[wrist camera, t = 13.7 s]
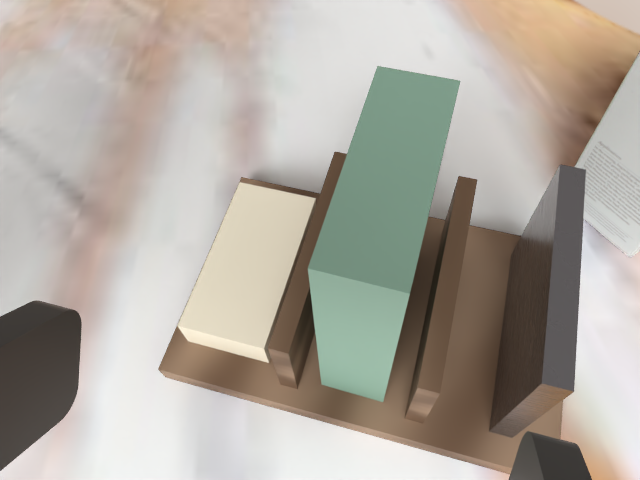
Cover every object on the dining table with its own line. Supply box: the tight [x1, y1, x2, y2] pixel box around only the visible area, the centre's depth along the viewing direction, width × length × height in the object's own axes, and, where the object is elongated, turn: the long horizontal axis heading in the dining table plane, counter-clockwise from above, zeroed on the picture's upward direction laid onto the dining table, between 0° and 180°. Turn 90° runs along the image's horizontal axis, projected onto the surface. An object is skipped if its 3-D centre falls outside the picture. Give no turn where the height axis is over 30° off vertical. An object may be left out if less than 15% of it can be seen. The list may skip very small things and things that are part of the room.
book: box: [308, 66, 460, 402], centre depth 27 cm, size 4×10×14 cm, turn 163°
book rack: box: [158, 152, 563, 474], centre depth 31 cm, size 22×14×8 cm, turn 74°
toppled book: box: [178, 182, 316, 363], centre depth 33 cm, size 5×10×2 cm, turn 164°
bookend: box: [489, 165, 586, 438], centre depth 28 cm, size 1×11×9 cm, turn 164°
